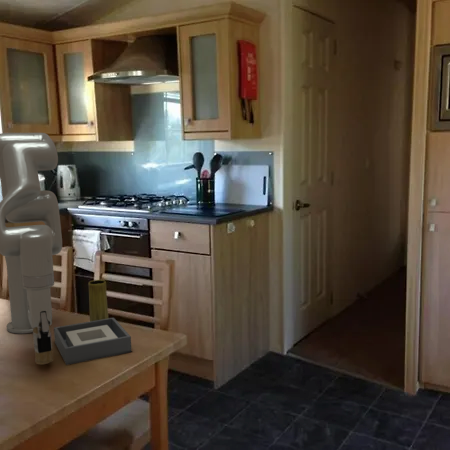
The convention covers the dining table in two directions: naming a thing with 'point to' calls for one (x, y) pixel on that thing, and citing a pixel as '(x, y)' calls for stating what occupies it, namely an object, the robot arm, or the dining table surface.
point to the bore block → (89, 335)
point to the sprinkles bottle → (45, 356)
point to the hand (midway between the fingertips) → (43, 347)
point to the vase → (98, 300)
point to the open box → (95, 348)
